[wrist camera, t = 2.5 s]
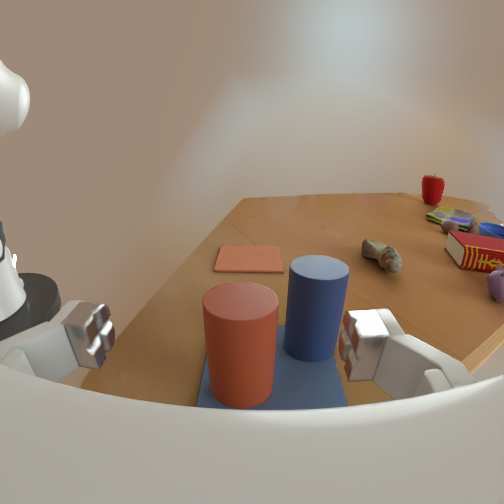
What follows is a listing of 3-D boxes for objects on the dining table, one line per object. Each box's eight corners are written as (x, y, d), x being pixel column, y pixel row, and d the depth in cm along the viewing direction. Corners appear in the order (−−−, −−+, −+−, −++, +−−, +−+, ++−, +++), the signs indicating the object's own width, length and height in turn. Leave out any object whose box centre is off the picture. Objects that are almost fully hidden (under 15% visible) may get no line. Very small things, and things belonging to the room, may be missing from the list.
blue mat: (195, 412, 25) (195, 410, 25) (213, 326, 38) (213, 323, 38) (347, 411, 25) (348, 409, 24) (323, 327, 38) (324, 325, 37)
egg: (446, 229, 80) (448, 217, 79) (460, 235, 75) (463, 222, 74) (436, 230, 79) (438, 217, 77) (450, 237, 73) (453, 223, 72)
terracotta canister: (206, 406, 25) (196, 319, 21) (214, 364, 31) (208, 280, 27) (273, 409, 25) (281, 321, 21) (271, 365, 30) (276, 282, 27)
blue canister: (285, 362, 31) (293, 279, 27) (281, 330, 36) (287, 254, 33) (339, 361, 31) (356, 280, 27) (329, 329, 36) (341, 255, 33)
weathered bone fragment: (354, 239, 62) (377, 257, 48) (376, 229, 61) (404, 245, 47) (361, 261, 63) (385, 284, 49) (383, 251, 62) (412, 271, 48)
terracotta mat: (213, 271, 53) (213, 269, 52) (221, 246, 64) (221, 244, 64) (283, 272, 52) (284, 270, 52) (279, 247, 64) (279, 245, 63)
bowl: (473, 238, 73) (476, 227, 72) (481, 229, 84) (482, 219, 82) (523, 256, 60) (526, 245, 59) (523, 243, 71) (525, 233, 70)
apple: (443, 205, 116) (446, 175, 111) (439, 207, 110) (443, 176, 105) (422, 199, 123) (425, 171, 118) (417, 202, 117) (420, 171, 112)
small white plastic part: (497, 232, 81) (499, 224, 80) (498, 229, 85) (500, 221, 83) (506, 235, 79) (507, 227, 77) (506, 232, 82) (508, 224, 81)
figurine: (508, 255, 44) (493, 266, 39) (523, 283, 42) (510, 301, 36) (491, 268, 49) (473, 281, 43) (505, 296, 46) (488, 314, 41)
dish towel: (421, 219, 90) (423, 211, 89) (437, 210, 105) (438, 203, 104) (468, 233, 78) (470, 225, 77) (476, 221, 93) (477, 214, 92)
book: (460, 269, 53) (466, 247, 51) (444, 248, 65) (448, 229, 63) (520, 277, 49) (526, 257, 47) (499, 257, 60) (503, 239, 58)
